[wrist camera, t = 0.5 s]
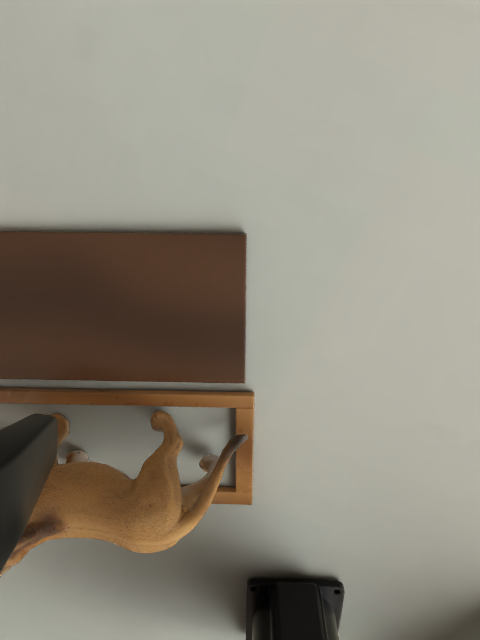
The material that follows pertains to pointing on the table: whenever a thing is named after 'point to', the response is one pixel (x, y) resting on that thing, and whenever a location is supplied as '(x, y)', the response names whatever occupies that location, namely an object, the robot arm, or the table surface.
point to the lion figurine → (123, 497)
